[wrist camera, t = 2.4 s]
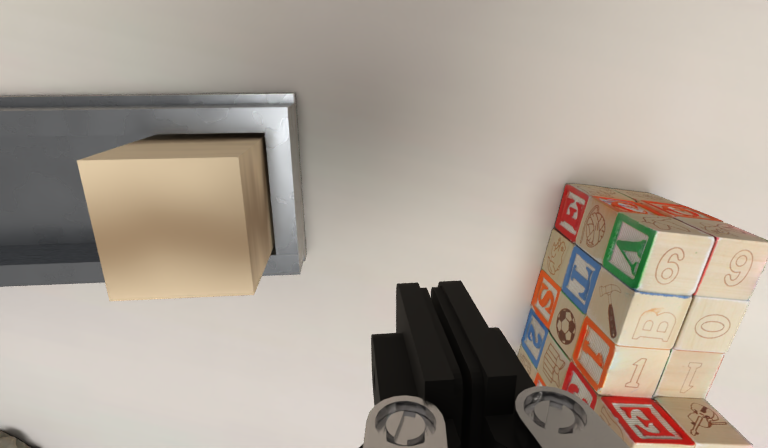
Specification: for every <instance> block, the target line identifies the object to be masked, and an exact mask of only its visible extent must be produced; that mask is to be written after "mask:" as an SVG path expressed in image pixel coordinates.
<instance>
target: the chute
mask: <svg viewBox="0 0 768 448" xmlns="http://www.w3.org/2000/svg"><path fill="white" fill-rule="evenodd" d="M262 132H265V141H266V151H267V162H268V173H269V183H270V194H271V205H272V216H273V226H274V237H275V245H274V247H273V250H272V252H271V255H270V257H269V260H268V262H267V264H266V267H265V269H264V272H263V274H262V276H270V275H294V274H300V272H301V267H302V263H303V261H305V259H306V240H305V226H304V211H303V197H302V182H301V168H300V153H299V139H298V124H297V110H296V95H295V93H246V94H151V95H57V96H0V287H3V286H28V285H52V284H76V283H100V282H105V279H104V275H103V271H102V266H101V262H100V258H99V254H98V249H97V245H96V241H95V236H94V232H93V228H92V224H91V219H90V215H89V211H88V207H87V202H86V198H85V194H84V189H83V185H82V181H81V177H80V172H79V168H78V164H77V160H80V159H83V158H86V157H89V156H92V155H95V154H98V153H101V152H104V151H107V150H110V149H113V148H116V147H119V146H123V145H126V144H129V143H132V142H135V141H138V140H141V139H144V138H147V137H150V136H153V135H156V134H204V133H262Z"/></svg>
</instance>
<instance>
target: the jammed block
mask: <svg viewBox="0 0 768 448" xmlns="http://www.w3.org/2000/svg"><path fill="white" fill-rule="evenodd" d="M77 164H78V168H79V172H80V177H81V181H82V185H83V189H84V194H85V198H86V202H87V207H88V211H89V215H90V219H91V224H92V228H93V232H94V236H95V241H96V245H97V249H98V254H99V258H100V262H101V266H102V271H103V275H104V279H105V283H106V288H107V292H108V296H109V301H124V300H147V299H170V298H192V297H215V296H237V295H254V294H255V291H256V289H257V286H258V284H259V281H260V279H261V277H262V274H263V272H264V269H265V267H266V264H267V262H268V260H269V257H270V255H271V252H272V250H273V247H274V245H275V237H274V226H273V216H272V205H271V194H270V183H269V173H268V162H267V151H266V141H265V132H262V133H204V134H156V135H153V136H150V137H147V138H144V139H141V140H138V141H135V142H132V143H129V144H126V145H123V146H119V147H116V148H113V149H110V150H107V151H104V152H101V153H98V154H95V155H92V156H89V157H86V158H83V159H80V160H77Z"/></svg>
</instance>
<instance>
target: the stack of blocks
mask: <svg viewBox="0 0 768 448" xmlns="http://www.w3.org/2000/svg"><path fill="white" fill-rule="evenodd" d="M767 260H768V240H766V239H763V238H761V237H758V236H756V235H754V234H751V233H749V232H746V231H744V230H742V229H739V228H737V227H734V226H732V225H729V224H727V223H723V221H721V220H719V219H717V218H714V217H712V216H709V215H707V214H705V213H702V212H700V211H697V210H694V209H692V208H689V207H686V206H683V205H681V204H678V203H675V202H673V201H670V200H667V199H665V198H662V197H660V196H657V195H654V194H651V193H644V192H635V191H627V190H620V189H610V188H605V187H598V186H591V185H581V184H566V186H565V189H564V193H563V197H562V201H561V205H560V208H559V212H558V215H557V220H556V223H555V228H554V229H553V230H552V232H551V236H550V239H549V243H548V246H547V250H546V254H545V257H544V261H543V265H542V270H541V272H540V275H539V278H538V282H537V285H536V288H535V292H534V295H533V299H532V302H531V310H530V313H529V316H528V320H527V324H526V327H525V331H524V334H523V338H522V344H521V346H520V349H519V353H518V358H519V360H520V362H521V363H522V365H523V366H524V368H525V369H526V371H527V373H528V374H529V376H530V377H531V379H532V380H533V382H534V384H535V385H536V386H548V387H556V388H559V389H562V390H565V391H568V392H570V393H572V394H574V395H576V396H578V397H579V398H580V399H582V400H583V401H584V402H585V403H587V404H588V405H589V406H590V407H591V408H592V409H593V410H594V411H595V412H596V413H597V414H598V415H599V416H600V417H601V418H602V419H603V420H604V421H605V422H606V424H607V425H608V426H609V427H610V428H611V429H612V430H613V431H614V432H615V433H616V434H617V435H618V436H619V437H620V438H621V439H622V440H623V441H624V442H625V443H626V444H627V445H628V446H629V447H630V448H753V444H752V443H750V442H749V441H748V440H747V439H746V438H745V437H744V436H743V435H742V434H741V433H740V432H739V431H738V430H737V429H736V428H735V427H733V426H732V425H731V424H730V423H729V422H728V421H727V420H726V419H725V418H724V417H723V416H722V415H721V414H720V413H719V412H718V411H717V410H715V409H714V408H713V407H712V406H711V405H710V404H709V403H708V402H707V401H706V400H705V398H706V396H707V394H708V392H709V389H710V387H711V385H712V383H713V380H714V378H715V376H716V373H717V371H718V369H719V367H720V364H721V362H722V360H723V357H724V354H725V353H726V352H727V351H728V349H729V347H730V345H731V343H732V341H733V338H734V336H735V334H736V332H737V329H738V327H739V325H740V323H741V321H742V319H743V316H744V314H745V312H746V310H747V308H748V306H749V302H750V300H749V298H750V297H751V296H752V293H753V291H754V289H755V287H756V285H757V282H758V280H759V278H760V275H761V274H762V272H763V270H764V268H765V265H766V262H767Z"/></svg>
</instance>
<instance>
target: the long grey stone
mask: <svg viewBox="0 0 768 448" xmlns="http://www.w3.org/2000/svg"><path fill="white" fill-rule="evenodd" d="M0 448H30V447H29V446H28V445H26V444H25V443H24V442H22V441H20V440H19V439H17V438H15V437H12V436H10V435H9V434H6V433H4V432H3V431H0Z"/></svg>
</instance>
